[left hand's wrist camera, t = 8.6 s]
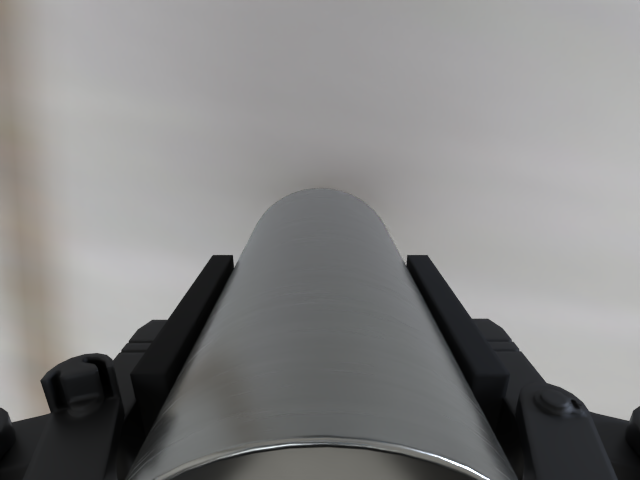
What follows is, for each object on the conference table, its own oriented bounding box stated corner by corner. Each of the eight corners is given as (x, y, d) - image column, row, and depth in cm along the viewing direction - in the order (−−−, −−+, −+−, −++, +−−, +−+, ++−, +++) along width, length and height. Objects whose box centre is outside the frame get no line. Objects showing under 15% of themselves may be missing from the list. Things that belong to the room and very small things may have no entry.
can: (267, 169, 16) (101, 384, 4) (412, 210, 16) (663, 505, 4) (236, 299, 18) (70, 695, 6) (364, 331, 19) (447, 748, 7)
